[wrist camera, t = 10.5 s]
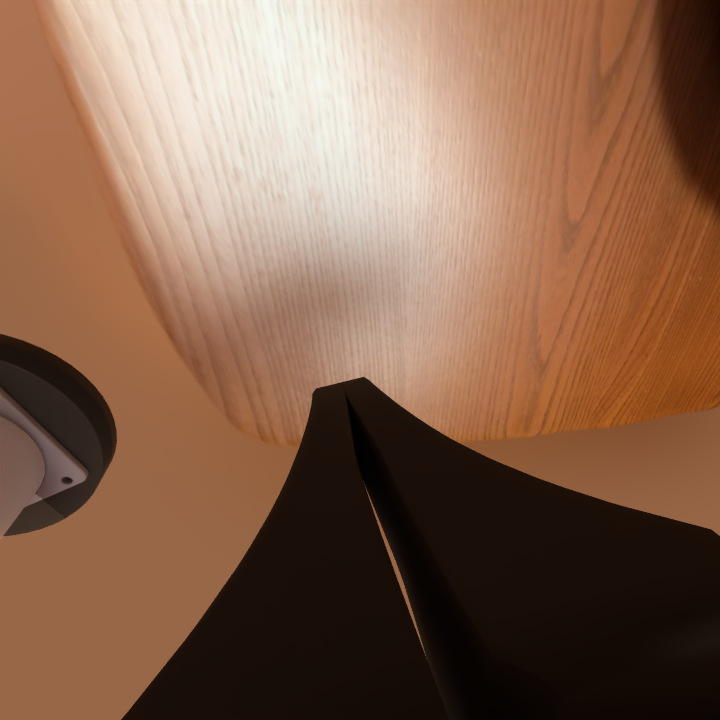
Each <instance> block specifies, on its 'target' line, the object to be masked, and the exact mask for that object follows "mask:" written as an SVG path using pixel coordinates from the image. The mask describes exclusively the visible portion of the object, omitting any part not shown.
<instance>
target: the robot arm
mask: <svg viewBox="0 0 720 720" xmlns="http://www.w3.org/2000/svg"><path fill="white" fill-rule="evenodd" d="M88 474H89V472H88V470H87V469H86V468H85V467H84V466H83V465H82V464H81V463H80V462H79V461H78V460H77V459H76V458H75V457H74V456H73V455H72V454H71V453H70V452H69V451H67V450H66V449H65V448H64V447H63V446H62V445H61V444H60V443H59V442H58V441H57V440H56V439H55V438H54V437H53V436H52V435H51V434H50V433H49V432H48V431H47V430H45V429H44V428H43V427H42V426H41V425H40V424H39V423H38V422H37V421H36V420H35V419H34V418H33V417H32V416H31V415H30V414H29V413H28V412H27V411H26V410H25V409H23V408H22V407H21V406H20V405H19V404H18V403H17V402H16V401H15V400H14V399H13V398H12V397H11V396H10V395H9V394H8V393H7V392H6V391H5V390H4V389H3V388H2V387H0V539H1V538H2V537H3V535H4V534H5V533H6V531H7V530H8V529H9V527H10V526H11V525H12V523H13V522H14V521H15V519H16V518H17V517H18V515H19V514H20V513H21V511H22V510H23V509H24V507H26V506H28V505H31V504H33V503H35V502H38V501H40V500H42V499H45V498H47V497H49V496H52V495H54V494H56V493H58V492H61V491H63V490H65V489H68V488H70V487H72V486H75V485H77V484H79V483H82V482H83V481H85V479H86V478H87V476H88ZM66 477H69V478H71V479H68V478H66ZM363 481H364V482H363ZM364 484H365V485H364ZM365 486H366V488H365ZM366 489H367V491H368V494H369V496H370V499H371V501H372V504H373V506H374V509H375V511H376V514H377V516H378V518H379V521H380V523H381V526H382V528H383V531H384V533H385V536H386V538H387V540H388V543H389V546H390V548H391V550H392V553H393V555H394V558H395V560H396V563H397V565H398V568H399V571H400V574H401V577H402V579H403V582H404V585H405V589H406V592H407V595H408V598H409V601H410V605H411V608H412V611H413V614H414V618H415V621H416V624H417V628H418V631H419V634H420V637H421V641H422V644H423V647H424V651H425V653H424V651H423V648H422V645H421V642H420V640H419V637H418V634H417V632H416V629H415V627H414V624H413V621H412V618H411V615H410V613H409V610H408V607H407V604H406V602H405V599H404V596H403V594H402V591H401V588H400V585H399V583H398V580H397V577H396V574H395V572H394V569H393V566H392V563H391V560H390V557H389V555H388V552H387V549H386V546H385V543H384V540H383V538H382V535H381V532H380V529H379V526H378V524H377V520H376V518H375V515H374V512H373V509H372V506H371V503H370V500H369V497H368V494H367V491H366ZM425 654H426V656H425ZM426 657H427V658H426ZM427 660H428V661H427ZM121 720H720V536H719V535H718V534H716V533H715V532H714V531H712V530H711V529H707V528H703V527H700V526H696V525H692V524H688V523H685V522H681V521H677V520H673V519H669V518H666V517H662V516H658V515H654V514H651V513H647V512H643V511H639V510H635V509H632V508H628V507H624V506H620V505H617V504H613V503H610V502H607V501H604V500H601V499H598V498H595V497H591V496H588V495H585V494H582V493H579V492H576V491H573V490H570V489H567V488H564V487H561V486H558V485H555V484H553V483H550V482H547V481H544V480H541V479H539V478H536V477H533V476H531V475H528V474H526V473H523V472H521V471H519V470H516V469H514V468H511V467H509V466H506V465H504V464H501V463H499V462H497V461H495V460H492V459H490V458H488V457H486V456H484V455H482V454H480V453H477V452H476V451H474V450H471V449H469V448H468V447H466V446H464V445H462V444H460V443H458V442H456V441H454V440H452V439H450V438H449V437H447V436H445V435H443V434H442V433H440V432H439V431H437V430H435V429H434V428H432V427H431V426H429V425H427V424H426V423H424V422H423V421H421V420H420V419H418V418H417V417H415V416H414V415H413V414H411V413H410V412H408V411H407V410H406V409H404V408H403V407H401V406H400V405H399V404H397V403H396V402H395V401H393V400H392V399H391V398H390V397H388V396H387V395H386V394H385V393H383V392H382V391H381V390H380V389H379V388H377V387H376V386H375V385H374V384H373V383H372V382H371V381H369V380H368V379H367V378H365V377H361V378H357V379H353V380H349V381H345V382H341V383H337V384H333V385H329V386H325V387H321V388H317V389H315V391H314V392H313V394H312V405H311V410H310V414H309V418H308V422H307V425H306V429H305V432H304V435H303V438H302V442H301V444H300V447H299V450H298V453H297V455H296V457H295V460H294V462H293V465H292V468H291V470H290V473H289V475H288V477H287V479H286V482H285V484H284V486H283V488H282V490H281V492H280V494H279V496H278V498H277V500H276V502H275V504H274V506H273V508H272V510H271V512H270V513H269V515H268V517H267V519H266V520H265V522H264V524H263V526H262V527H261V529H260V531H259V533H258V534H257V536H256V538H255V539H254V541H253V543H252V544H251V546H250V548H249V549H248V551H247V552H246V554H245V556H244V557H243V559H242V560H241V562H240V563H239V565H238V567H237V568H236V570H235V571H234V573H233V574H232V575H231V577H230V578H229V580H228V581H227V582H226V584H225V585H224V587H223V588H222V590H221V591H220V592H219V594H218V595H217V597H216V598H215V600H214V601H213V603H212V604H211V605H210V607H209V608H208V610H207V611H206V612H205V614H204V615H203V617H202V618H201V619H200V621H199V622H198V624H197V625H196V626H195V628H194V629H193V630H192V632H191V633H190V634H189V636H188V637H187V638H186V640H185V641H184V642H183V644H182V645H181V646H180V647H179V648H178V650H177V651H176V652H175V653H174V655H173V656H172V657H171V658H170V660H169V661H168V662H167V664H166V665H165V666H164V667H163V669H162V670H161V671H160V672H159V674H158V675H157V676H156V677H155V678H154V680H153V681H152V682H151V683H150V685H149V686H148V687H147V688H146V690H145V691H144V692H143V693H142V695H141V696H140V697H139V698H138V700H137V701H136V702H135V704H134V705H133V706H132V708H131V709H130V710H129V711H128V712H127V713H126V715H125V716H124V717H123V718H122V719H121Z"/></svg>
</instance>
